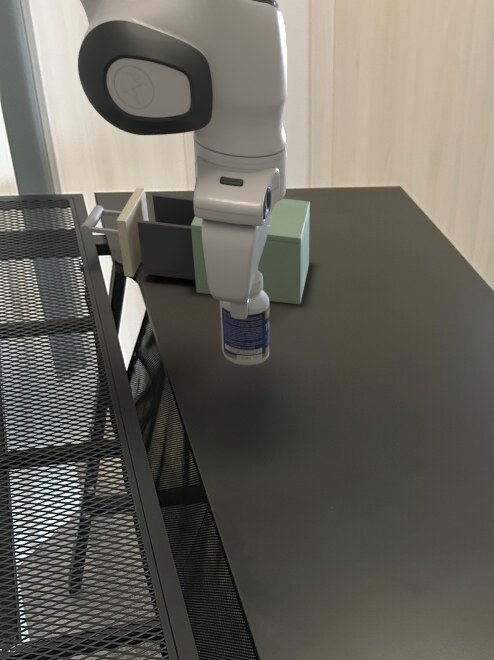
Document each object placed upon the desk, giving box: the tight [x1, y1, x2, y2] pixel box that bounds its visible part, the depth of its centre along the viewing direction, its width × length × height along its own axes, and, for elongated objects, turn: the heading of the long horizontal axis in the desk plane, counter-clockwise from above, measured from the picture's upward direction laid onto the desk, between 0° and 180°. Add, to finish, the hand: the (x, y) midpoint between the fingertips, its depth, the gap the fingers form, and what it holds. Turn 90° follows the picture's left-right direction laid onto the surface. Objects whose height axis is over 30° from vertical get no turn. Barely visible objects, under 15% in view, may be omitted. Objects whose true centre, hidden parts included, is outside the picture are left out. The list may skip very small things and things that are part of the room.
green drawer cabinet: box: [191, 197, 311, 305], centre depth 122 cm, size 15×13×10 cm
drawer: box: [80, 187, 195, 281], centre depth 121 cm, size 19×11×8 cm, turn 91°
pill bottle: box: [219, 270, 270, 366], centre depth 96 cm, size 5×5×10 cm
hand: (244, 301), depth 95 cm, fingers closed on pill bottle, 5 cm apart
